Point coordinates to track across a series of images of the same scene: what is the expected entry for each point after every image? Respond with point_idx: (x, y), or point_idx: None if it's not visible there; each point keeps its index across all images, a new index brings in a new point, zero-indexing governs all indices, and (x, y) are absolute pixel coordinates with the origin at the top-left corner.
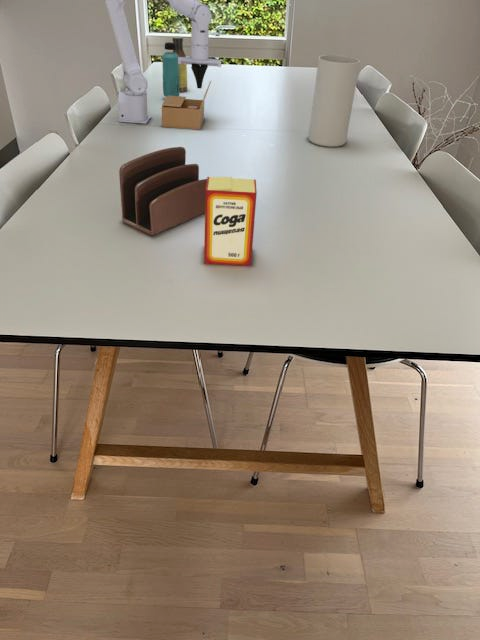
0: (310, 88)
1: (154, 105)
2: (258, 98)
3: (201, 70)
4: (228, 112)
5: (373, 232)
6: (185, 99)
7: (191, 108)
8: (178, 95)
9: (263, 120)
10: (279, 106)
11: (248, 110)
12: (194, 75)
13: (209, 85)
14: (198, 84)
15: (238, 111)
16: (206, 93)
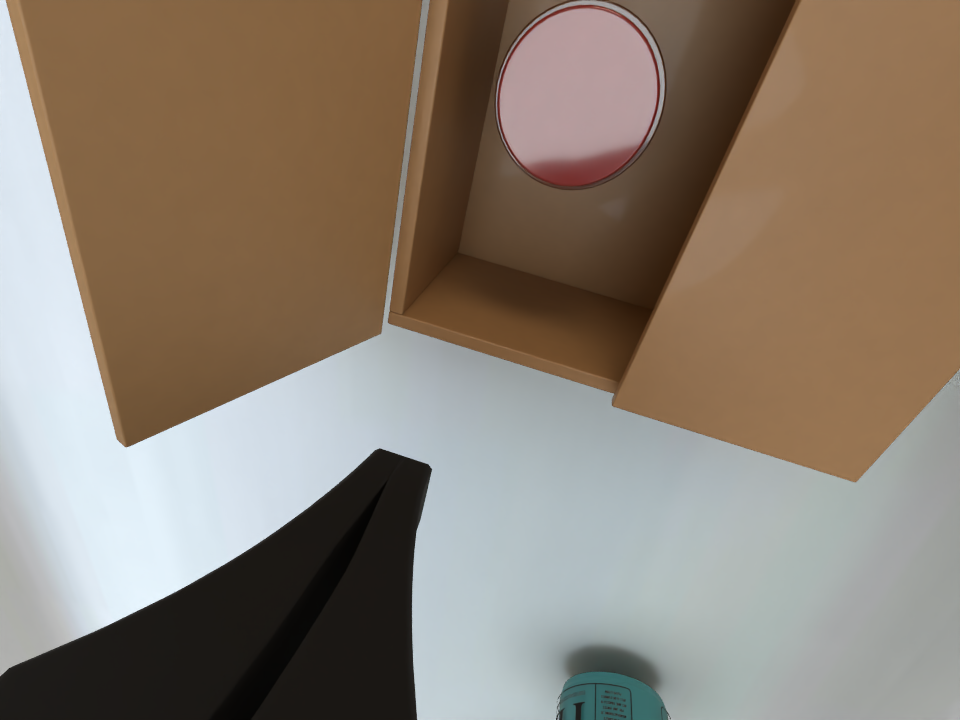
0: (7, 653)
1: (777, 609)
2: (156, 598)
3: (142, 706)
4: (270, 409)
5: None
6: (618, 381)
7: (607, 19)
8: (570, 683)
9: (12, 208)
10: (29, 478)
11: (159, 434)
12: (409, 645)
13: (59, 86)
14: (392, 491)
15: (212, 422)
16: (260, 68)
